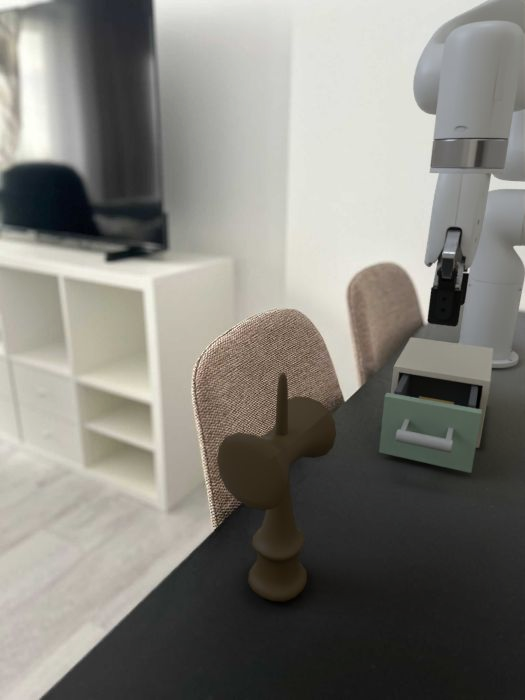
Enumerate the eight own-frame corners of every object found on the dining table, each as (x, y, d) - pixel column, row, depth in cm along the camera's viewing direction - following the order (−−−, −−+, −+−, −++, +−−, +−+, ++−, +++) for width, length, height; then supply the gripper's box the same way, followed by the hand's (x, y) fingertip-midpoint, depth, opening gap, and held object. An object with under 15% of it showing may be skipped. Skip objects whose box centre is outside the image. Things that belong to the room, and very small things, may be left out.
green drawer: (468, 494, 56) (479, 431, 54) (370, 471, 61) (376, 411, 58) (477, 426, 72) (485, 374, 69) (398, 411, 76) (403, 361, 73)
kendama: (216, 604, 43) (211, 384, 36) (277, 539, 50) (282, 348, 44) (277, 639, 40) (283, 405, 33) (332, 564, 47) (346, 362, 41)
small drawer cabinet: (479, 448, 68) (490, 381, 64) (387, 429, 72) (393, 365, 69) (483, 406, 80) (493, 348, 77) (404, 392, 84) (410, 337, 81)
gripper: (440, 159, 64) (424, 294, 69) (419, 158, 49) (401, 329, 55) (506, 159, 61) (484, 300, 67) (505, 158, 46) (476, 339, 52)
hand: (446, 313), depth 61 cm, fingers open, 9 cm apart
